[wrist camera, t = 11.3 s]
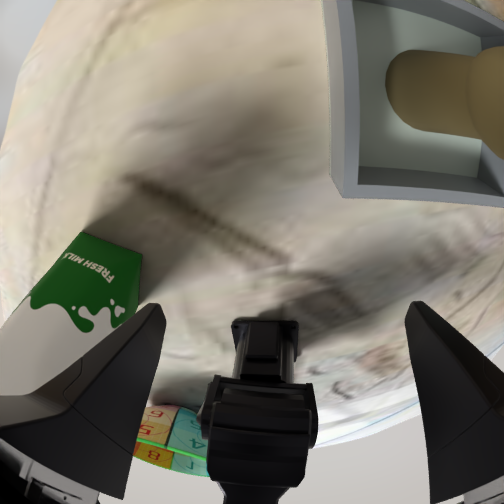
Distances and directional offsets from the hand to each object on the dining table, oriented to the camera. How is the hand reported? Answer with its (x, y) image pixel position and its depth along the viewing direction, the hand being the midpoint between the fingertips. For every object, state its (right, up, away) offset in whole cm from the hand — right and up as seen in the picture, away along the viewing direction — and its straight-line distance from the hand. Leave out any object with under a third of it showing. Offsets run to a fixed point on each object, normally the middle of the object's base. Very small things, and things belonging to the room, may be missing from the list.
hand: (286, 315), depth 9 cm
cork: (+10, +13, +4) cm, 17 cm away
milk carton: (-15, 0, +16) cm, 22 cm away
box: (+10, +13, +5) cm, 18 cm away
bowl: (-14, -27, +33) cm, 45 cm away
